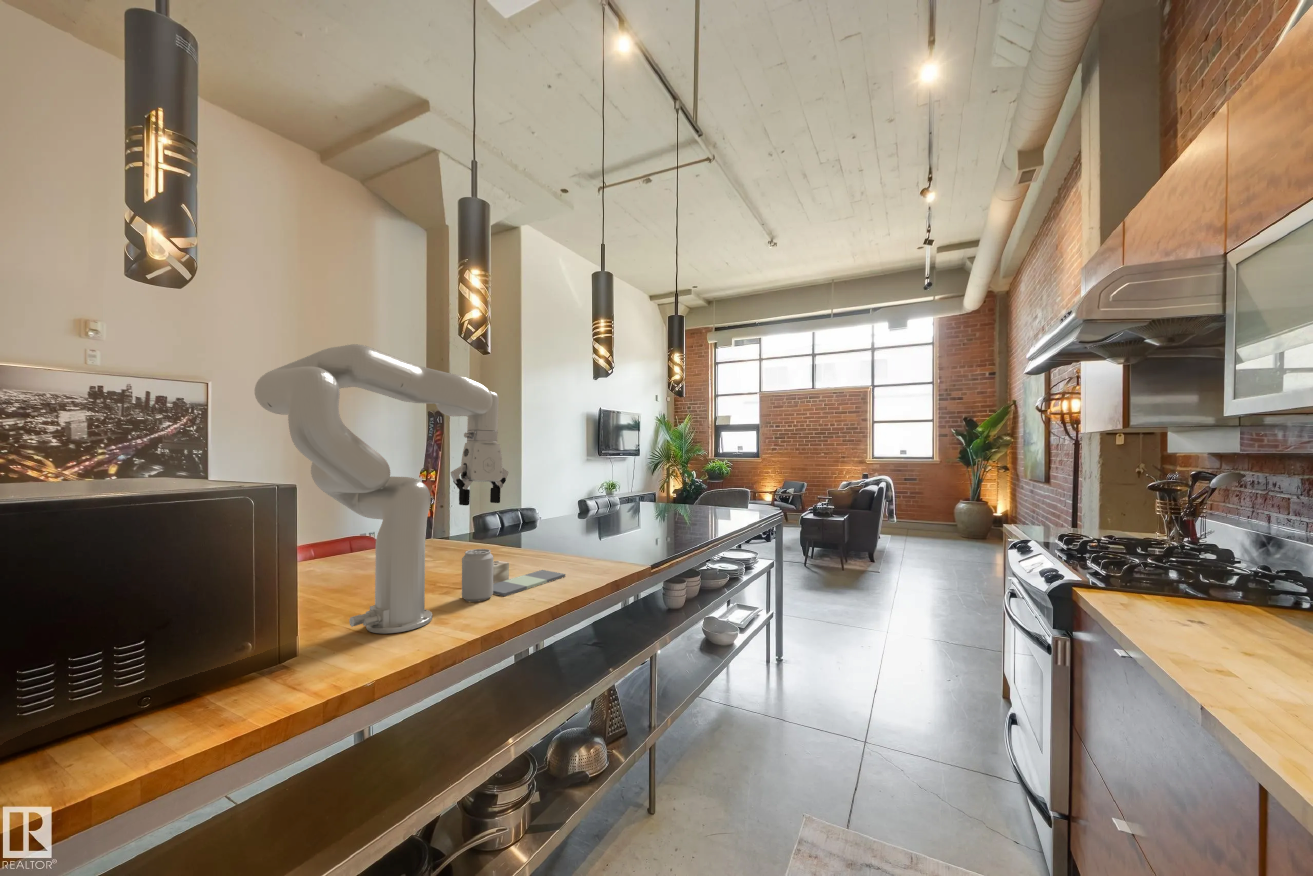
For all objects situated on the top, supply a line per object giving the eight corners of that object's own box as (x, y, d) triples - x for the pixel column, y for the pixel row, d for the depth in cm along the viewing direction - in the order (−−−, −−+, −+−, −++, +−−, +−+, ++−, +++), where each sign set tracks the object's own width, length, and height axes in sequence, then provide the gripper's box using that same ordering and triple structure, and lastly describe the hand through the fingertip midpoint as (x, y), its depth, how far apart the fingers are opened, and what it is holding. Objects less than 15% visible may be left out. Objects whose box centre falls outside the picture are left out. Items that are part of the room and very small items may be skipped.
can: (486, 602, 118) (486, 553, 118) (456, 602, 118) (456, 553, 118) (497, 593, 125) (497, 547, 126) (468, 593, 126) (469, 547, 126)
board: (504, 596, 123) (504, 593, 123) (480, 590, 128) (480, 587, 128) (565, 576, 142) (565, 574, 142) (542, 572, 147) (542, 569, 147)
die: (494, 584, 135) (494, 566, 135) (483, 581, 137) (483, 563, 138) (508, 580, 139) (508, 562, 139) (497, 577, 142) (497, 560, 142)
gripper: (463, 435, 116) (460, 507, 115) (517, 439, 131) (515, 502, 130) (443, 436, 120) (441, 505, 119) (498, 440, 135) (496, 501, 134)
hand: (480, 503), depth 125 cm, fingers open, 9 cm apart
